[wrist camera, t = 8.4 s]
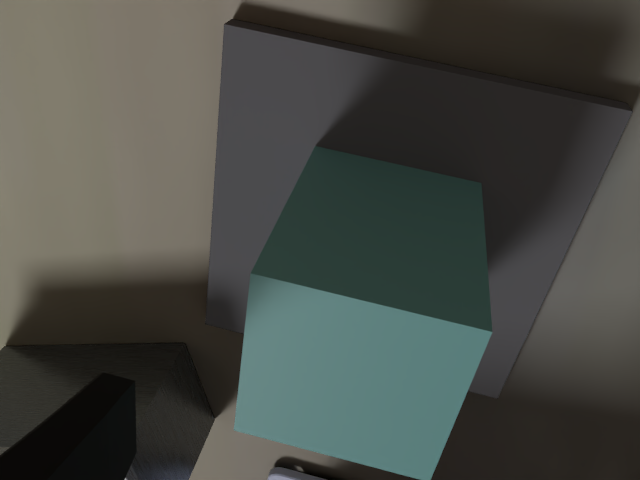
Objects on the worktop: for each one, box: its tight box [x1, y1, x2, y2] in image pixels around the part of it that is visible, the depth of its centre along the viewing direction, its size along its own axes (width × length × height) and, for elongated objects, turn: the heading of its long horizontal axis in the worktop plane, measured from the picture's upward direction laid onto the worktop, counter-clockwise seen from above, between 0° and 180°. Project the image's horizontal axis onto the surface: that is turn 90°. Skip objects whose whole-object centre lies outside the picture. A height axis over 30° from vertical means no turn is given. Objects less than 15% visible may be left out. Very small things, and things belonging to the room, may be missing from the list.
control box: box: [0, 343, 215, 480], centre depth 22 cm, size 8×4×5 cm, turn 101°
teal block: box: [234, 146, 492, 480], centre depth 15 cm, size 4×4×6 cm
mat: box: [205, 19, 633, 399], centre depth 17 cm, size 10×10×1 cm
